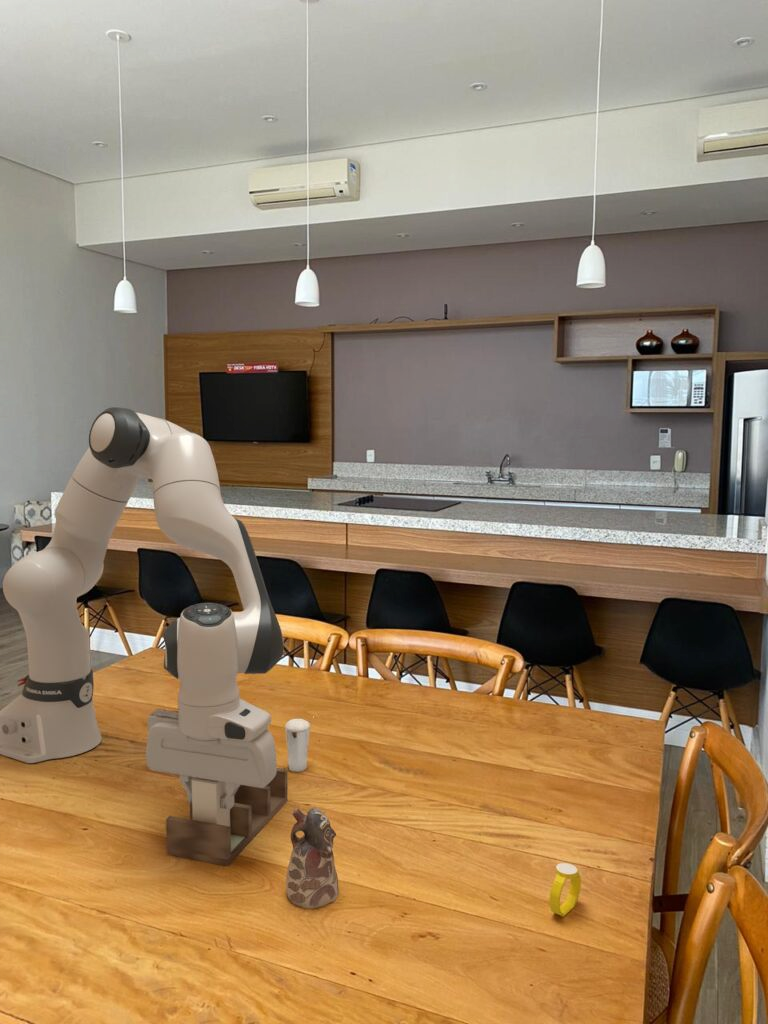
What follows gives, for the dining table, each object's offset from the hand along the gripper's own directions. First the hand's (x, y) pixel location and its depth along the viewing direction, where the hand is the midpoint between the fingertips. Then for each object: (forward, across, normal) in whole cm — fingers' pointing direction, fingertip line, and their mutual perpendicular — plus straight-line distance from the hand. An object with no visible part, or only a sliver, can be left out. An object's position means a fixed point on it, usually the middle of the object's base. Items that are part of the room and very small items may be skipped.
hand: (210, 804), depth 119 cm
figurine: (+7, +19, -6) cm, 21 cm away
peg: (+5, 0, 0) cm, 5 cm away
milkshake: (+7, +2, +29) cm, 30 cm away
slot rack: (+7, 0, +6) cm, 9 cm away
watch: (+7, +52, +1) cm, 52 cm away
